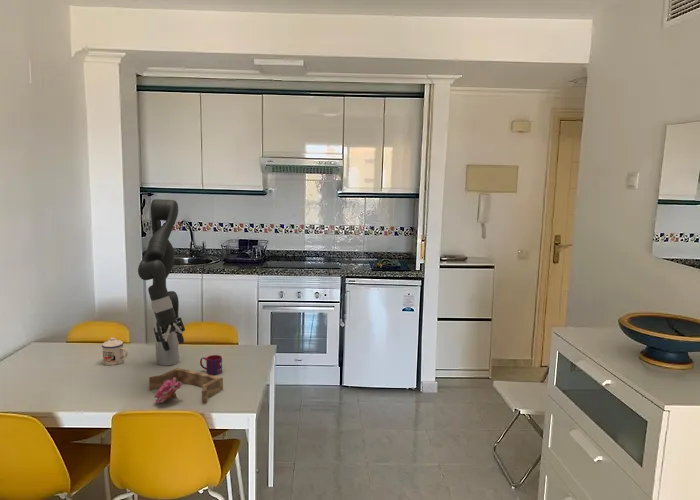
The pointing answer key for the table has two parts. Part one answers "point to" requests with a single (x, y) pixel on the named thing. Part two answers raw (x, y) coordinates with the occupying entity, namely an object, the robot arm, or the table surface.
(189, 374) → the wooden slat frame
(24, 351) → the table surface
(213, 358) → the cup
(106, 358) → the teacup with lid
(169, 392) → the flower
